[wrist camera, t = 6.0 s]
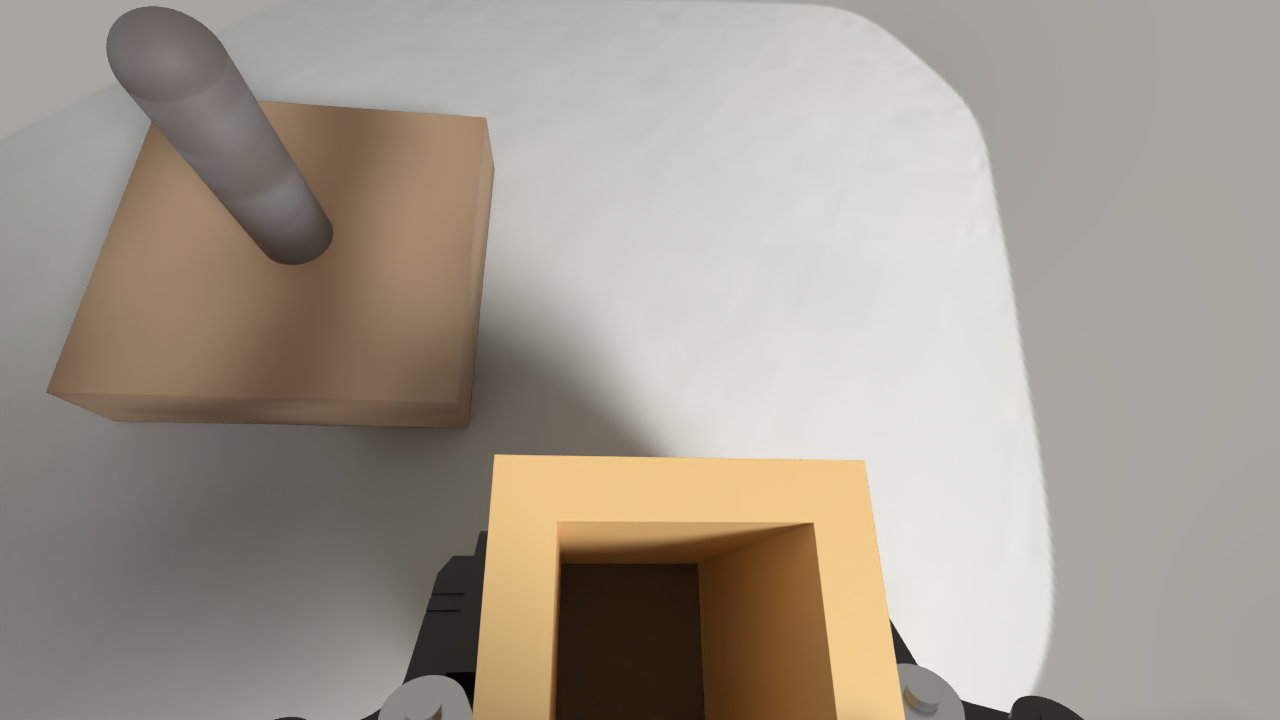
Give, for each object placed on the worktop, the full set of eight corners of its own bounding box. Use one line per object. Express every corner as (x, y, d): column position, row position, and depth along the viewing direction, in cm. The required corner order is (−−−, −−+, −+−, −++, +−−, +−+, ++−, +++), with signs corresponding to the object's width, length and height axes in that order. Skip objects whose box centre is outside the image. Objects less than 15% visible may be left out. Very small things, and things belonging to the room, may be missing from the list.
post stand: (114, 421, 17) (-343, 230, 9) (206, 149, 21) (-46, -172, 12) (468, 427, 18) (378, 264, 10) (494, 168, 22) (447, -116, 14)
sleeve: (514, 771, 15) (451, 964, 7) (528, 528, 17) (494, 454, 9) (743, 762, 16) (938, 928, 8) (728, 528, 18) (864, 460, 10)
